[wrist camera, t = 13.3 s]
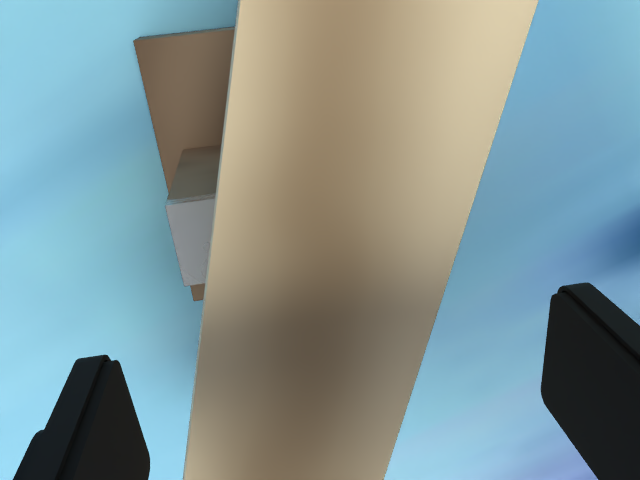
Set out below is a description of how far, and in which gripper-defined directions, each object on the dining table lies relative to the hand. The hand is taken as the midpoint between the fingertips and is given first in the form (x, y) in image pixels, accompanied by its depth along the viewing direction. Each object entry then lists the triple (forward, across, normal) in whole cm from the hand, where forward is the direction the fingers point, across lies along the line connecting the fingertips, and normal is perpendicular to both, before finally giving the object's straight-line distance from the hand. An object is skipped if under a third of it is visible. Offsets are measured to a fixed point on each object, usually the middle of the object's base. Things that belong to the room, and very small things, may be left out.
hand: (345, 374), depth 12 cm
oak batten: (+7, 0, 0) cm, 7 cm away
